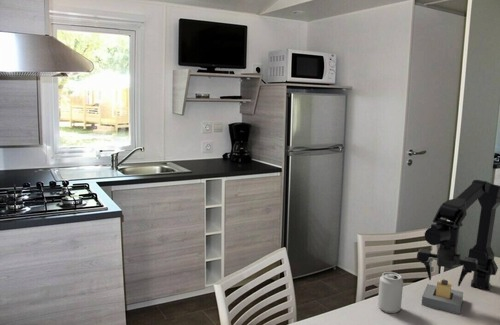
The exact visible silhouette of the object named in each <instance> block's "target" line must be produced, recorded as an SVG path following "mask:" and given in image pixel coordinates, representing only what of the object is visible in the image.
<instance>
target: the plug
mask: <svg viewBox="0 0 500 325" xmlns="http://www.w3.org/2000/svg"><path fill="white" fill-rule="evenodd" d="M436 286H437V288H436V296H437V297H442V298H446V299H450V296H451V289H452V288H453V287H452V286H453V282H449V280H448V279H441V280H440V279H438V280H437V282H436Z"/></svg>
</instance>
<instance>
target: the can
mask: <svg viewBox="0 0 500 325" xmlns="http://www.w3.org/2000/svg"><path fill="white" fill-rule="evenodd" d="M381 274H382V275H381V276H380V277H379V286H378V297H377V306H378V307H379V308H380V310H382V311H383V312H385V313H387V314H388V313H389V314H395V313H398V312H399V311H400V310H402V299H403V289H404V288H403V287H404V280H403V279H402V278H403V277H402V275H400V274H399V273H397V272H394V271H385V272H383V273H381Z"/></svg>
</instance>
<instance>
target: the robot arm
mask: <svg viewBox="0 0 500 325" xmlns="http://www.w3.org/2000/svg"><path fill="white" fill-rule="evenodd" d="M476 201H477V202H478V203H479V206H480V214H479V221H478V228H477V234H476V240H475V245H474V246H473V247H472V248H469V250H468V255H467V256H464V259H463V258H461V254H459V253H457V252H458V245H459V237H460V236H459V235H460V229H461V227H463V223H462V222H463V221H464V220H465V218H466V217H467V215H468V214H467V212H468V209H469V208H470V207H471V206H472V205H473V204H474V203H476ZM499 206H500V185H498V184H493V183H491V182H489V181H486V180H481V179H473V180H472V182H471V184H470V185H469V186H468V187H467V188H466V189H464V191H462V192H461V193H460V194H458V196H457V197H455V198H451V199H448V200H446V201H445V202H443V203H441V205H440V206H439V208H438V209H437V212H436V214H435V216H434V218H433V220H432V222H433V223H431V225H430V227H429V228H427V229H426V230H425V232H424V239H425V240H426V243H428V245H430V246H437V245H438V249H437V254H436V253H432V250H431V249H428V248H420V249H419V250H418V251H417V254H416V260H417V261H420V263H422V264H423V265H424V267H425V269H426V272H427V278H428V280H429V281H431V280H432V261H433V260H435V261H436V266H438V267H439V268H440V267H443V268H447V269H452V268H453V266H462V268H461V272H460V274H459V279H458V284H457V287H460V286H461V284H462V283H463V280H464V279H465V277H466V275H467V274H472V272H473V274H472V275H473V276H472V279H471V282H470V287H473V288H477V289H481V290H485V291H491V282H490V281H491V276H496V274H497V272H498V269H499V267H498V265H497V263H496V261H495V253H494V251H493V248H492V246H491V245H492V239H493V232H494V225H495V219H496V218H495V217H496V213H497V212H496V211H497V209H498V208H499Z"/></svg>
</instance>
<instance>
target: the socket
mask: <svg viewBox="0 0 500 325" xmlns="http://www.w3.org/2000/svg"><path fill="white" fill-rule="evenodd" d="M436 288H437V285H434V284H429V283H427V284H426V286H425V289H424V292H423V294H422V296H421V305H422V306H424V307H428V308H429V307H430V308H432V309H437V310H440V311H441V310H442V311H445V312H449V313H453V314H458V315H460V314H461V309H462V305H463V300H464V299H463V298H464V291H462V290H461V291H460V290H456V289H452V288H451V296H450V299H446V298H442V297H437V296H436Z"/></svg>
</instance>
